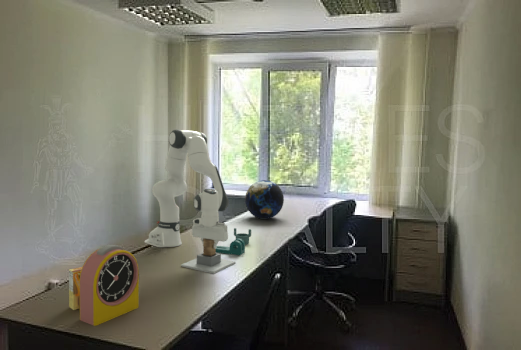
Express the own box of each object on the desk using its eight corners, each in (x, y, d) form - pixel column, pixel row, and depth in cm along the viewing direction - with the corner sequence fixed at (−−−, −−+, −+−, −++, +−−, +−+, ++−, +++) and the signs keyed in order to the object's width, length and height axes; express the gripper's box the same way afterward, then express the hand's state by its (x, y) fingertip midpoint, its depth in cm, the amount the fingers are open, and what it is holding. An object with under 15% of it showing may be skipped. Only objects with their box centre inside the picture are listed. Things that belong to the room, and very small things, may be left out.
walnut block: (203, 254, 237) (203, 239, 236) (208, 252, 241) (208, 237, 240) (210, 255, 235) (210, 240, 234) (215, 253, 238) (215, 238, 238)
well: (181, 266, 234) (181, 255, 233) (203, 257, 252) (204, 247, 251) (214, 273, 225) (214, 262, 224) (235, 263, 242) (235, 253, 242)
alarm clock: (95, 326, 164) (94, 254, 161) (78, 319, 169) (78, 249, 166) (139, 307, 182) (139, 241, 179) (123, 301, 187) (123, 238, 184)
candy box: (90, 301, 186) (90, 264, 184) (95, 304, 183) (95, 267, 181) (68, 307, 179) (68, 269, 178) (73, 310, 176) (73, 271, 175)
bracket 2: (252, 244, 282) (252, 229, 282) (238, 245, 278) (239, 230, 277) (245, 240, 290) (245, 226, 289) (231, 242, 285) (232, 227, 285)
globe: (259, 213, 379) (260, 176, 375) (290, 218, 361) (291, 180, 358) (236, 218, 355) (237, 179, 351) (268, 224, 337) (270, 184, 334)
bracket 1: (244, 252, 264) (245, 239, 263) (240, 255, 257) (241, 241, 256) (215, 249, 269) (215, 235, 268) (210, 252, 262) (211, 238, 262)
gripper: (230, 222, 234) (230, 249, 235) (197, 217, 243) (197, 243, 245) (223, 224, 228) (223, 251, 230) (190, 219, 238) (190, 245, 239)
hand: (209, 247), depth 237 cm, fingers closed on walnut block, 4 cm apart
